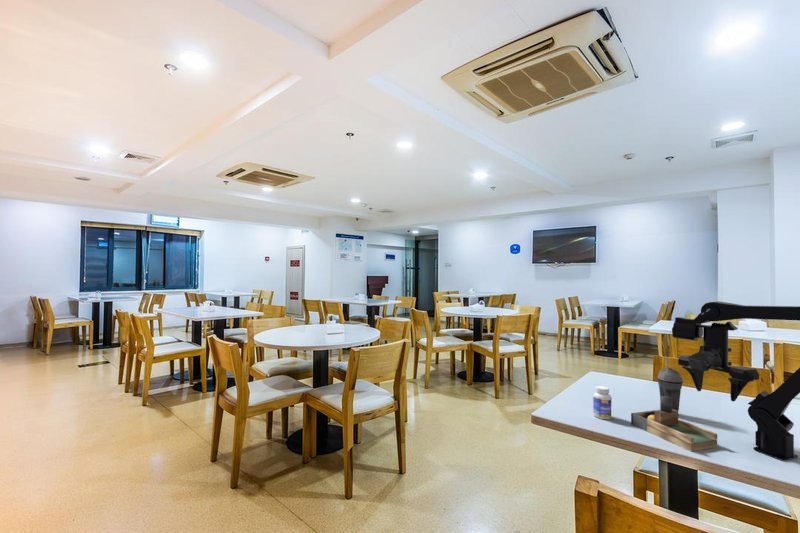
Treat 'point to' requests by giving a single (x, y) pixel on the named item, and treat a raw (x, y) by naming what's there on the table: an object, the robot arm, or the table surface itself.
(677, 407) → the beverage cup
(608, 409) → the pill bottle
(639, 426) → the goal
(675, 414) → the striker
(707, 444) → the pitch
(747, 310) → the robot arm
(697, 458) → the table surface
